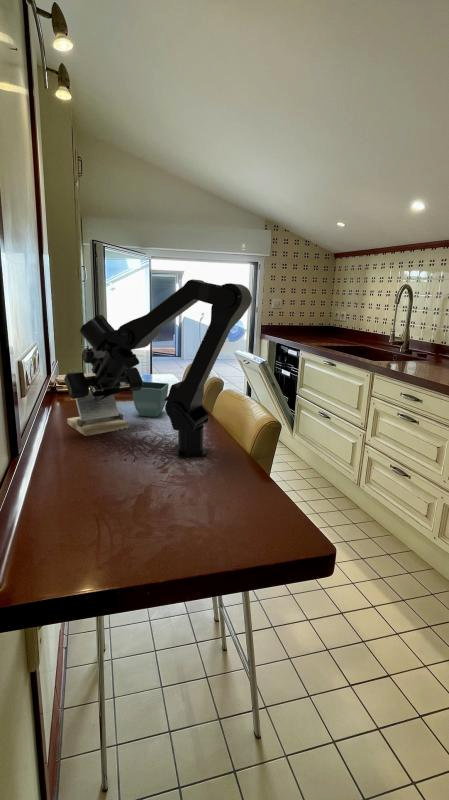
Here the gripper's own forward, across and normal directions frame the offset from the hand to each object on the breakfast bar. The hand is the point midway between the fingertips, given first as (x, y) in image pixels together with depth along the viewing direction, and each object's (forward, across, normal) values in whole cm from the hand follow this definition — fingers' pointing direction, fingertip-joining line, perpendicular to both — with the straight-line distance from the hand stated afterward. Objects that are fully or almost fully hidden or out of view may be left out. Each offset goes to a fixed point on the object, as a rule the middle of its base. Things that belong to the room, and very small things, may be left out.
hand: (96, 399), depth 112 cm
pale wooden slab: (+5, 0, +5) cm, 7 cm away
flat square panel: (+2, 0, +5) cm, 5 cm away
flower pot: (+6, -17, +4) cm, 19 cm away
